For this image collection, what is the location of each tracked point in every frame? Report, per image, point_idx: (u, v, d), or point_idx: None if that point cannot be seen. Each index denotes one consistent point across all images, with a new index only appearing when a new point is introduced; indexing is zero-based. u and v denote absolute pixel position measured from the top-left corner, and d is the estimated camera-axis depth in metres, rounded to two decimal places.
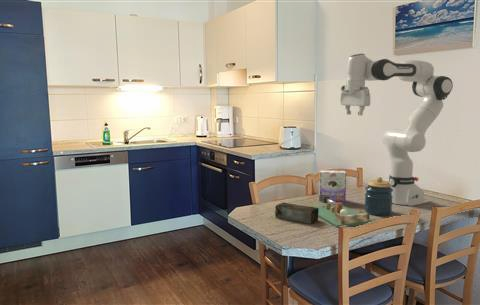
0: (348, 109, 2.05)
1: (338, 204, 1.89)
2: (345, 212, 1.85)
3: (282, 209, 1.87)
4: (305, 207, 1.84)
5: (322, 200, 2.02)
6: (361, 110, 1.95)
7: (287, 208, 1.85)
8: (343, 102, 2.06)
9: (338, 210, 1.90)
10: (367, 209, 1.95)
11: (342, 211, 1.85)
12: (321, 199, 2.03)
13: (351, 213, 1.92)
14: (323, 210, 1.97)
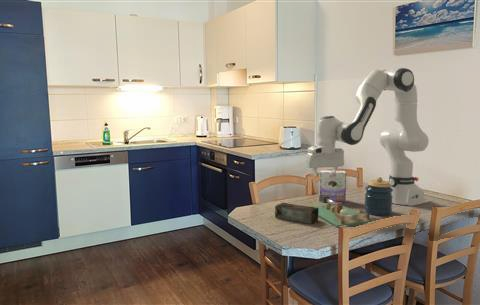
0: None
1: (338, 204, 1.89)
2: (345, 212, 1.85)
3: (282, 209, 1.86)
4: (305, 207, 1.83)
5: (322, 200, 2.02)
6: None
7: (287, 208, 1.85)
8: (314, 165, 1.97)
9: (338, 210, 1.90)
10: (367, 209, 1.95)
11: (342, 211, 1.85)
12: (321, 199, 2.03)
13: (351, 213, 1.92)
14: (323, 210, 1.97)
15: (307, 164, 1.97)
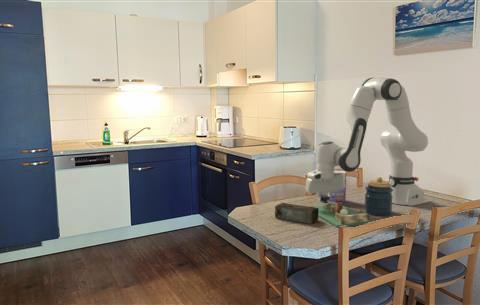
0: None
1: (338, 204, 1.89)
2: (345, 212, 1.85)
3: (282, 209, 1.86)
4: (305, 207, 1.83)
5: None
6: None
7: (287, 208, 1.84)
8: (314, 190, 1.99)
9: (338, 210, 1.90)
10: (367, 209, 1.95)
11: (342, 211, 1.85)
12: None
13: (351, 213, 1.92)
14: (323, 210, 1.97)
15: (307, 189, 1.99)
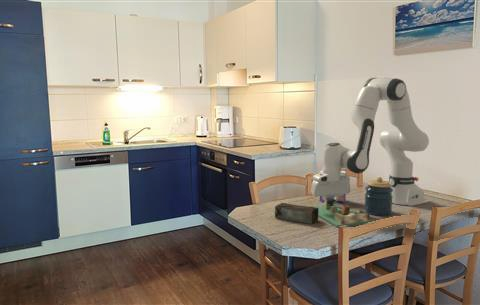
0: None
1: (345, 207, 1.84)
2: None
3: (282, 209, 1.86)
4: (305, 207, 1.83)
5: None
6: None
7: (287, 208, 1.84)
8: (320, 193, 1.93)
9: (345, 213, 1.84)
10: (367, 209, 1.95)
11: None
12: None
13: None
14: (323, 210, 1.97)
15: (312, 192, 1.94)
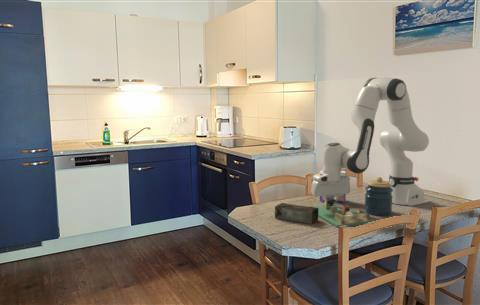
0: None
1: (345, 207, 1.84)
2: None
3: (282, 209, 1.86)
4: (305, 207, 1.83)
5: None
6: None
7: (287, 209, 1.84)
8: (320, 193, 1.93)
9: None
10: (367, 209, 1.95)
11: None
12: None
13: None
14: (323, 210, 1.97)
15: (312, 192, 1.94)
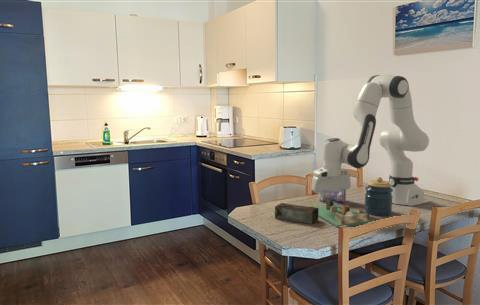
0: None
1: (345, 207, 1.84)
2: None
3: (282, 209, 1.85)
4: (305, 207, 1.83)
5: (328, 203, 1.97)
6: None
7: (287, 209, 1.84)
8: (320, 188, 1.93)
9: (345, 213, 1.84)
10: (367, 209, 1.95)
11: None
12: (327, 202, 1.97)
13: None
14: (323, 210, 1.97)
15: (313, 188, 1.94)
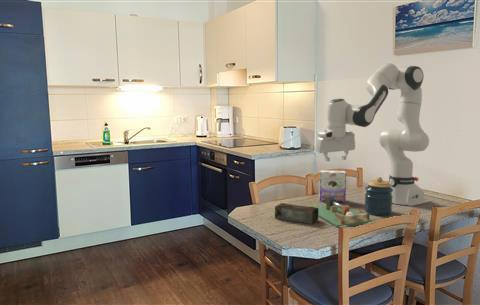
0: None
1: (345, 207, 1.84)
2: None
3: (282, 210, 1.85)
4: (305, 207, 1.83)
5: (328, 203, 1.97)
6: None
7: (287, 209, 1.84)
8: (325, 149, 1.92)
9: (345, 213, 1.84)
10: (367, 209, 1.95)
11: None
12: (327, 202, 1.97)
13: None
14: (323, 210, 1.97)
15: (318, 149, 1.93)
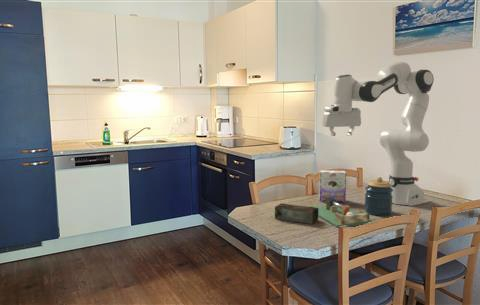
0: None
1: (345, 207, 1.84)
2: None
3: (282, 210, 1.85)
4: (305, 207, 1.83)
5: (328, 203, 1.97)
6: None
7: (287, 209, 1.84)
8: (331, 123, 1.95)
9: (345, 213, 1.84)
10: (367, 209, 1.95)
11: None
12: (327, 202, 1.97)
13: None
14: (323, 210, 1.97)
15: (324, 123, 1.96)
